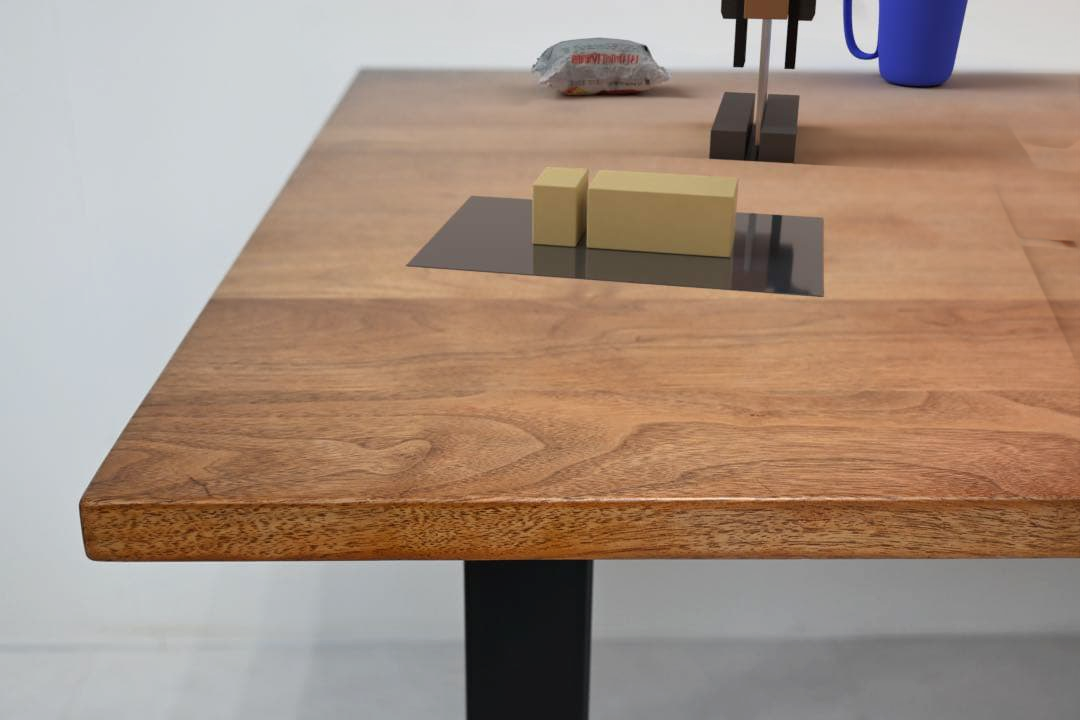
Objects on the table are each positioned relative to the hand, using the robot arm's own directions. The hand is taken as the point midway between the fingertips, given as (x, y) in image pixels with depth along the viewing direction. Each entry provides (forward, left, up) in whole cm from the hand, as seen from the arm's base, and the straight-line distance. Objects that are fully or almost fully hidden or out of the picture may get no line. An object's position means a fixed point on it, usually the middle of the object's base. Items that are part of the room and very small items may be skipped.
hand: (764, 64), depth 93 cm
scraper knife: (0, 0, -5) cm, 5 cm away
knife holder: (0, 0, -7) cm, 7 cm away
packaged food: (+15, -18, -7) cm, 25 cm away
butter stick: (+4, +28, -5) cm, 29 cm away
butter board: (+6, +28, -7) cm, 29 cm away
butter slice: (+10, +28, -5) cm, 30 cm away
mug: (-12, -32, -7) cm, 35 cm away
